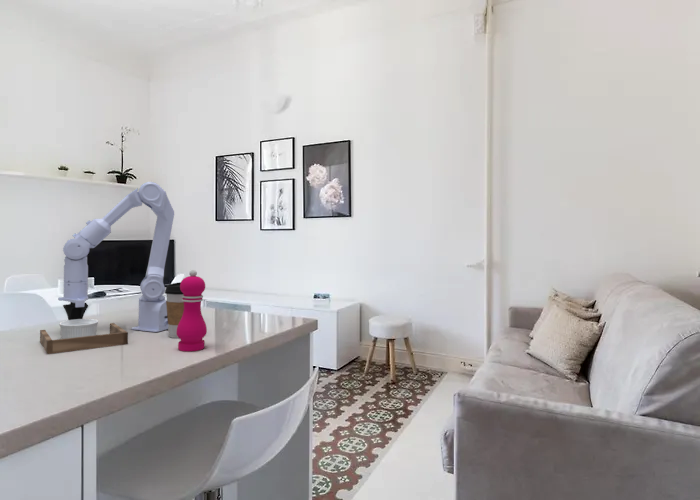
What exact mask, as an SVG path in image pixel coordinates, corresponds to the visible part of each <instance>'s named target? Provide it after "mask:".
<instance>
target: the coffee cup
mask: <svg viewBox="0 0 700 500" xmlns="http://www.w3.org/2000/svg"><path fill="white" fill-rule="evenodd" d="M180 284H181V281H180V282H174V283H170V284H167V285H166V287H165V291H164V294H166V306H167V318H168V329H167V330H168V337H169V338H172V339H179V337H178V336H177V334H176V332H177V327H178V324H179V322H180V320H181V318H182V315H183V312H184V302H183V301H182V298H183V297H182V296H183V295H184V294H183V293H182V291H181V290H180Z"/></svg>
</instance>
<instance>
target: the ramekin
mask: <svg viewBox="0 0 700 500" xmlns="http://www.w3.org/2000/svg"><path fill="white" fill-rule="evenodd" d="M98 324H99V320H98V319H96V318H95V319H94V318H93V319H92V318H83V319H74V320H68V319H67V320H63V321H60V322H59V324H58V325H59V327H60V328H59V329H60V337H61V338H60V339H66V338H76V337H85V336H94V335H97V332H98V331H97V328H98Z"/></svg>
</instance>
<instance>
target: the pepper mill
mask: <svg viewBox="0 0 700 500" xmlns="http://www.w3.org/2000/svg"><path fill="white" fill-rule="evenodd" d="M197 274H198V272H197V271H196V270H195V269H190V271H189V276H186V277H184V278H182V280H181V281H180V282H181V284H180V290H181V291H182V293H183V294H184V295H183V296H182V297H183V298H182V301H183V302H184V312H183V315H182V318H181V320H180V322H179V324H178V327H177V332H176V334H177V336H178V337H179V338H178V339H179V340H180V341H178V342H177V346H178V348H177V349H178V350H179V351H180V352H196V351H197V352H198V351H202V350H203V349H205V340H204V338H205V336H206V335H207V331H208V329H207V324H206V321H205V319H204V317H203V314H202V302H203V301H204V298H203V297H204V295H203V293H204V292H205V290H206V282H205V280H204V278H202V277H200V276H197Z"/></svg>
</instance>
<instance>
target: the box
mask: <svg viewBox="0 0 700 500" xmlns="http://www.w3.org/2000/svg"><path fill="white" fill-rule="evenodd" d="M39 332H40V333H39V342H40V344H41V346H42V348H43V347H44V348H43V350H44V351H45V353H46V355H52V354H59V353H68V352H69V353H70V352H76V351H83V350H92V349H98V348H99V349H100V348H106V347H113V346H115V347H116V346H122V345H128V344H129V343H128V342H129V333H128V331H126V330H125V329H124V328H123V327H121V326H119V325H118V324H116V323H114V322H110V323H109V333H104V334H103V333H102V334H96V335H94V336H85V337H76V338H66V339H62V338H60V339H53V338H51V336H50V335H49V333H48V332H47V330H46V329H40V330H39Z"/></svg>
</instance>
